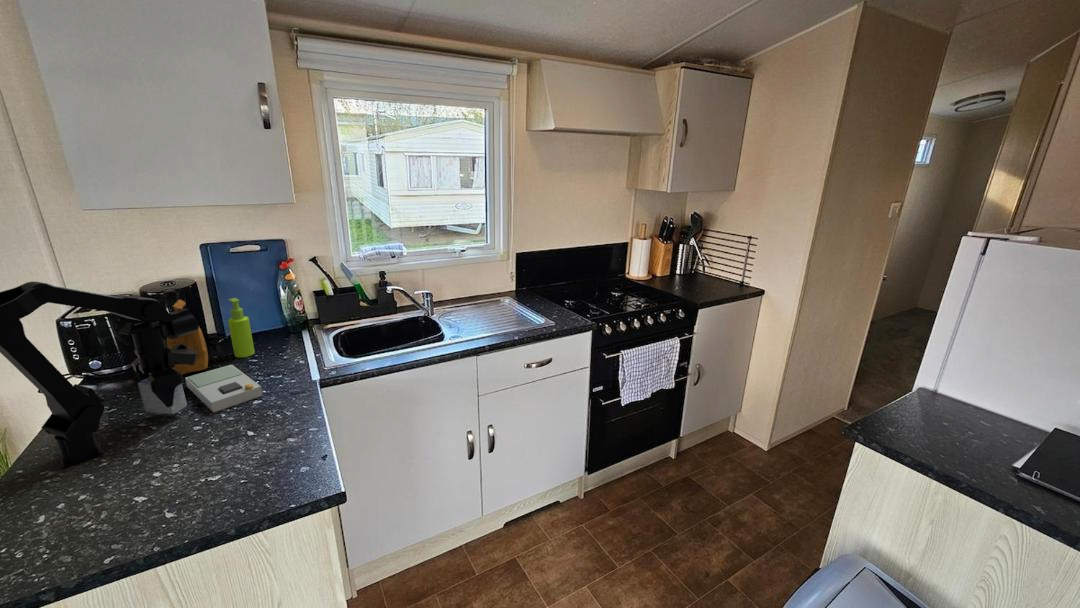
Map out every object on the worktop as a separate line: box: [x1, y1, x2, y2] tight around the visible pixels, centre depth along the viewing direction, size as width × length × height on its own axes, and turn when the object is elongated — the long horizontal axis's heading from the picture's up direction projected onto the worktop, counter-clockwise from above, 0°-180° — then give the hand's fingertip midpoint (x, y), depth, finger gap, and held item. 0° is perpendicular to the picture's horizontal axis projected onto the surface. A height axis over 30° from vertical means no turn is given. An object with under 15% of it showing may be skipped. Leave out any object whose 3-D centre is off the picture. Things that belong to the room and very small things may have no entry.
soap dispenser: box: [227, 297, 256, 358], centre depth 149 cm, size 6×7×20 cm
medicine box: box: [137, 378, 188, 415], centre depth 112 cm, size 8×4×9 cm, turn 84°
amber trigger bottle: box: [166, 299, 209, 375], centre depth 138 cm, size 10×12×22 cm
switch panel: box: [185, 364, 263, 413], centre depth 127 cm, size 22×12×4 cm, turn 52°
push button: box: [219, 382, 241, 395], centre depth 123 cm, size 4×4×3 cm
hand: (164, 400), depth 113 cm, fingers closed on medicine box, 9 cm apart
